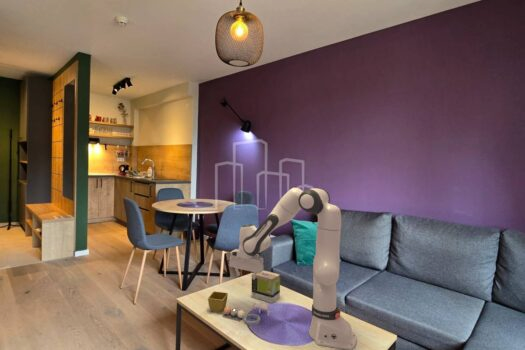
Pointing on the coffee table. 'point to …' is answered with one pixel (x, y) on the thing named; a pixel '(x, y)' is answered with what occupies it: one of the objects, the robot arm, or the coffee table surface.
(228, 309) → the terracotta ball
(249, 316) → the race ring
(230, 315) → the parts mat
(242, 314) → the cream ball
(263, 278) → the tea box
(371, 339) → the coffee table surface
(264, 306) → the origami figure
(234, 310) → the steel ball
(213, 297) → the flower pot
